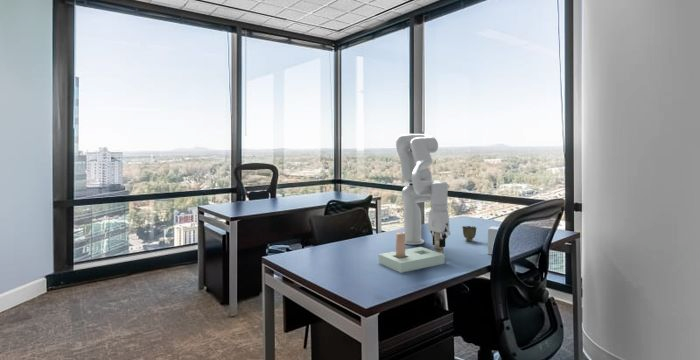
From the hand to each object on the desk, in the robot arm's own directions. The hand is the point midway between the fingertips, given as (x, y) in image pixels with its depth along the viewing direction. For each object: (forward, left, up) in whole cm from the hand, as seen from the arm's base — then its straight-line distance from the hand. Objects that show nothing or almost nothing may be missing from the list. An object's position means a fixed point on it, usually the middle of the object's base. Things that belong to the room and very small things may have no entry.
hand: (438, 245), depth 178 cm
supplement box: (+10, +28, -6) cm, 30 cm away
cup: (-15, +36, -6) cm, 39 cm away
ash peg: (0, 0, -5) cm, 5 cm away
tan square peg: (+3, -25, -5) cm, 26 cm away
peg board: (+3, -19, -6) cm, 20 cm away
